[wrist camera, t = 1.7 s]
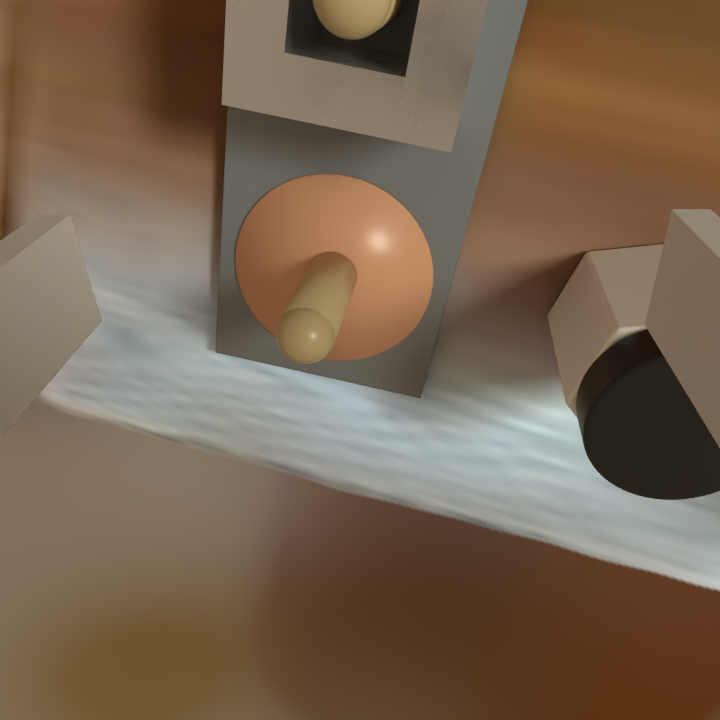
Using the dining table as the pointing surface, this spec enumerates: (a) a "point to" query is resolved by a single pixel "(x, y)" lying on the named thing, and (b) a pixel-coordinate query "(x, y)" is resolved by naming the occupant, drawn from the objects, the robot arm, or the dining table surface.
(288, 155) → the post board
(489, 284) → the dining table surface
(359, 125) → the collar
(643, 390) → the jar
